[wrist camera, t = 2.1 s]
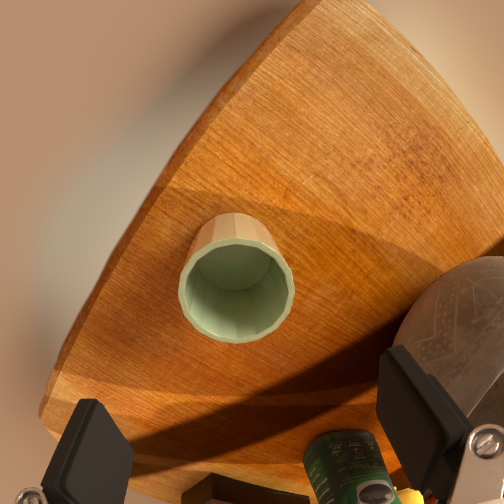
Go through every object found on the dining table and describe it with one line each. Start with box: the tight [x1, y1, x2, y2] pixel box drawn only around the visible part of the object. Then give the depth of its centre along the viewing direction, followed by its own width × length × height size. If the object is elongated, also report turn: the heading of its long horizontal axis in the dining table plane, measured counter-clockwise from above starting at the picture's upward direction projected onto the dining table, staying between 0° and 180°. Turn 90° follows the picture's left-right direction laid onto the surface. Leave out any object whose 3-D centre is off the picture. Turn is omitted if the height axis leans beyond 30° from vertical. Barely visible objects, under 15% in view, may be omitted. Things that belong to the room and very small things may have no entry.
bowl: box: [392, 256, 504, 428], centre depth 23 cm, size 21×21×15 cm
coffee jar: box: [303, 431, 402, 504], centre depth 26 cm, size 10×8×19 cm
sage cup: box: [178, 213, 295, 344], centre depth 22 cm, size 7×7×8 cm
